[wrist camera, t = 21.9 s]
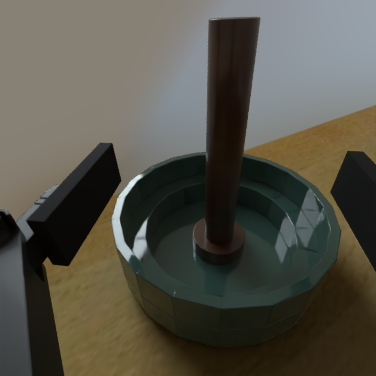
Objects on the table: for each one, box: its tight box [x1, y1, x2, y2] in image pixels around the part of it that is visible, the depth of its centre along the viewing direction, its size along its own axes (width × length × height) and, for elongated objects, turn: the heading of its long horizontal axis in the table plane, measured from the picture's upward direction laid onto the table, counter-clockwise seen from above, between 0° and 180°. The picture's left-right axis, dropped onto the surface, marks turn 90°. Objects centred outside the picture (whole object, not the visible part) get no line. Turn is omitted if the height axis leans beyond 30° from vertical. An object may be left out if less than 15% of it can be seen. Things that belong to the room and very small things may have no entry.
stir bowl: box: [111, 152, 341, 348], centre depth 21 cm, size 17×17×6 cm
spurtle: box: [193, 17, 260, 265], centre depth 17 cm, size 5×5×18 cm
